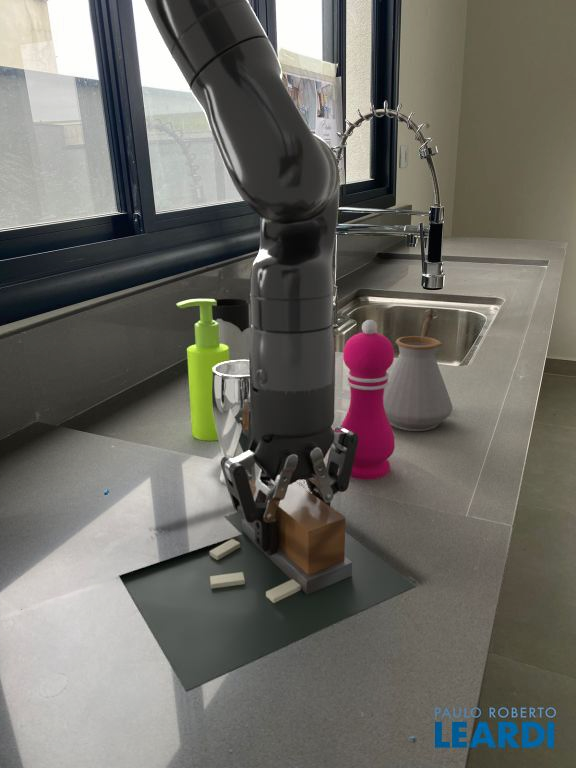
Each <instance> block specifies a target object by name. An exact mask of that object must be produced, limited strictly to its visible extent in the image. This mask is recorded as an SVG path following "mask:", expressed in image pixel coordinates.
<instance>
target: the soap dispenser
mask: <svg viewBox="0 0 576 768" xmlns="http://www.w3.org/2000/svg"><path fill="white" fill-rule="evenodd" d="M215 300H216V299H214V298H191V299H185V300H182V301H179V302H176V303H175V305H176V306H177V307H178V308H179V309H184V308H190V307H199V320H198V321H197V322H196V323H194V338H195V339H194V340H195V344H192V345H189V346H188V347H187V348H186V354H187V355H186V358H187V372H188V373H187V374H188V375H187V376H188V388H189V390H188V391H189V405H190V421H191V424H190V425H191V435H192V437H193V438H194V439H196V440H200V441H204V442H206V441H207V442H214V441H219V440H218V436H217V432H216V427H215V422H214V417H213V408H212V378H213V371H212V369H213V367H214V366H215V365H217V364H220V363H223V362H227V361H229V347H228V346H227V345H224V344H220V341H219V323H218V322H215V321H214V320H213V319H212V306H217V302H216V301H215Z"/></svg>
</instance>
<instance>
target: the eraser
mask: <svg viewBox="0 0 576 768" xmlns="http://www.w3.org/2000/svg"><path fill="white" fill-rule="evenodd" d="M255 480H256V478H255V479H252V480H249V484H250V487H251V491H252V494H253V498H254V494H255V491H256V486H255ZM271 482H272V483H273V484H274V483H275V482H274V481H273V480H271ZM275 519H276V520H277V548H278V552H277V553H276V554H274V555H271V556H269V555H268V554H267V553H266V552H264V551H263V550H262V549H261V548H260V547H259V546H258V545H257V544H256V542H255V524H254V522H252V523H249V522H247V521H246V520H245V519H242V532H243V533H244V534H245V535H246V536H247V537H248V538H249V539H250V540H251V541H252V542H253V543H254V544H255V545H256V546H257V547H258V548H259V549H260V550H261V551H262V552H263V553H264V554H265V555H266V556H267V557H268V558H269V559H270V560H271V561H273V562H274V563H275V564H276V565H277V566H278V567H279V568H280V569H281V570H282V571H283V572H284V573H285V574H286V575H287V576H288V577H289V578H290V579H291V580H292V579H294V580H295V581H296V582H297V583H299V584H300V585H301V590H302V591H303V592H304V593H305V594H306V595H308V594H310V593H313V592H315V591H317V590H320V589H322V588H324V587H327V586H329V585H332V584H334V583H336V582H339V581H341V580H343V579H346V578H348V577H350V576H352V562H351V561H350V560H349V559H348V558H346V557H345V532H346V517H345V516H343V515H342V514H341V513H340V512H338V511H337V510H335V509H334V508H333V507H332V506H331V505H330V506H328V505H327V504H326V503H324V502H323V501H321V500H320V499H319V498H317V497H316V496H315V495H313V494H312V493H311V492H310V490H309V489H307V488H305V487H304V486H302V485H301V484H299V483H298V482H297V481H296V482H294V483H292V484H290V485H288V488H287V492H286V495H285V498H284V499H283V500H280V502H279V506H278V509H277V512H276V515H275Z"/></svg>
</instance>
